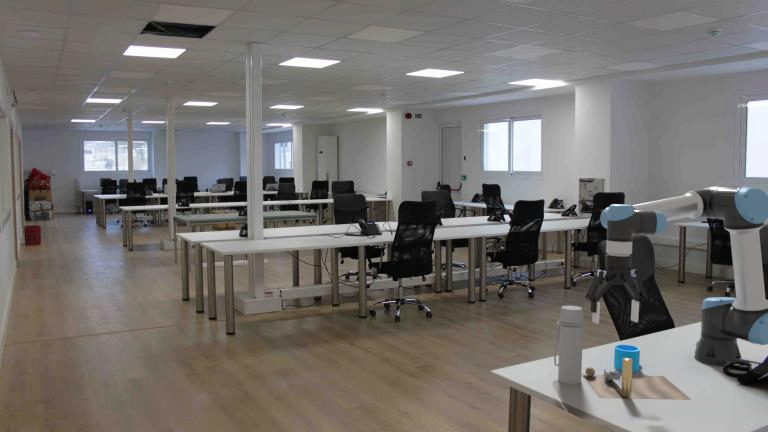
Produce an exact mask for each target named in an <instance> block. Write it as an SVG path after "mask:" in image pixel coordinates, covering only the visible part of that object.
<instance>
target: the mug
mask: <svg viewBox="0 0 768 432" xmlns="http://www.w3.org/2000/svg"><path fill="white" fill-rule="evenodd" d="M640 353H641V348H640V347H638V346H635V345H631V344H616V345H614V354H613V356H614V357H613V359H614V360H613V367H614V368H615V369H616V370H619V371H622V363H623V358H630V359H632V360H633V364H632V373H633V372H637V371H639V370H640V360H641V359H640V357H641V354H640Z"/></svg>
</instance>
